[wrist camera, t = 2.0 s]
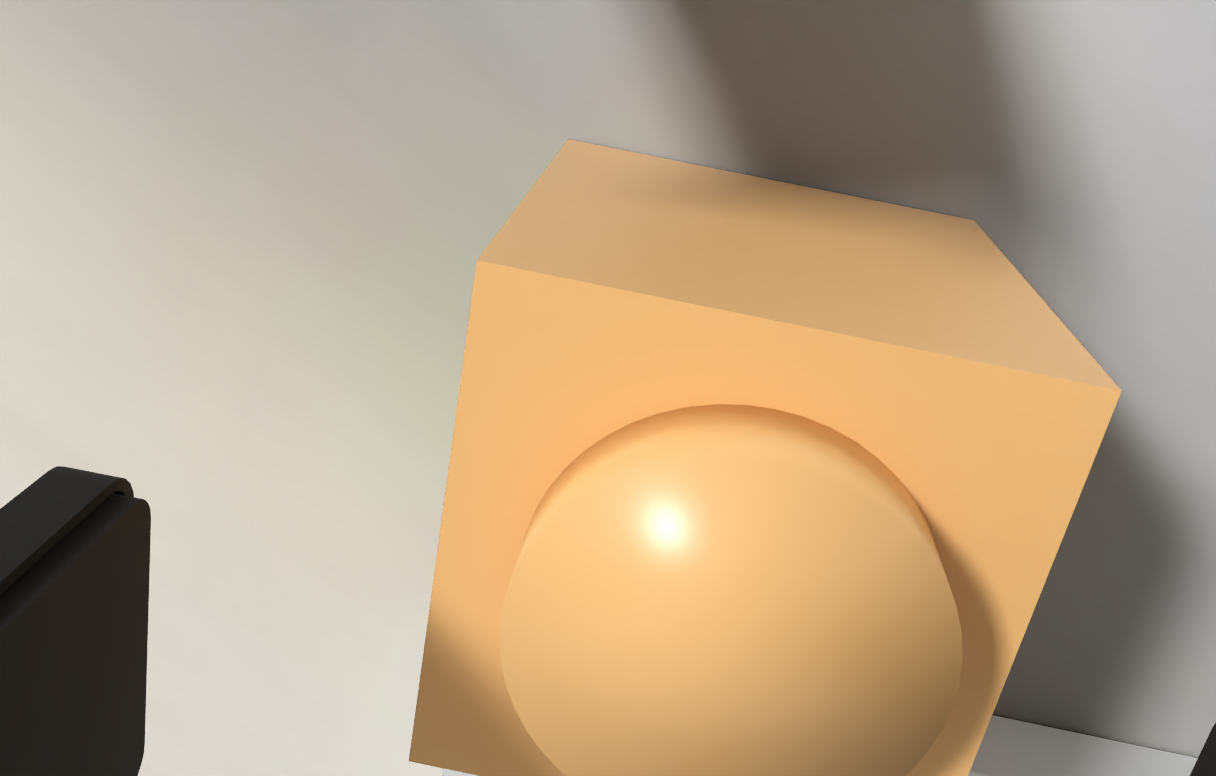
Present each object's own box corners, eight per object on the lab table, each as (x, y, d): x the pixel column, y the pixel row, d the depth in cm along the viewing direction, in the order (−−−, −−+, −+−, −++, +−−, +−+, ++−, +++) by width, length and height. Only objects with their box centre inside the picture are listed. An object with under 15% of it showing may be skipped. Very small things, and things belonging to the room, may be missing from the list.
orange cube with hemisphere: (974, 220, 15) (1165, 440, 8) (862, 567, 17) (947, 953, 11) (568, 139, 15) (450, 295, 8) (510, 494, 17) (381, 832, 11)
